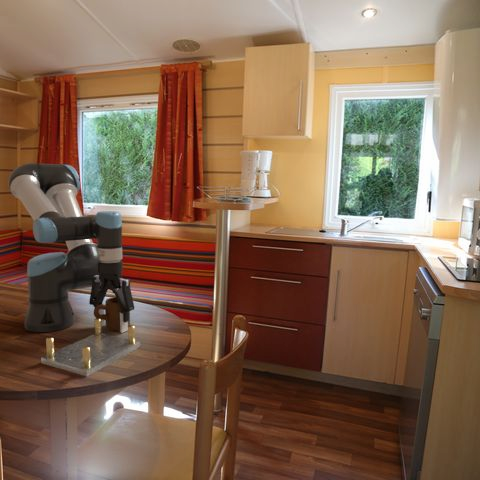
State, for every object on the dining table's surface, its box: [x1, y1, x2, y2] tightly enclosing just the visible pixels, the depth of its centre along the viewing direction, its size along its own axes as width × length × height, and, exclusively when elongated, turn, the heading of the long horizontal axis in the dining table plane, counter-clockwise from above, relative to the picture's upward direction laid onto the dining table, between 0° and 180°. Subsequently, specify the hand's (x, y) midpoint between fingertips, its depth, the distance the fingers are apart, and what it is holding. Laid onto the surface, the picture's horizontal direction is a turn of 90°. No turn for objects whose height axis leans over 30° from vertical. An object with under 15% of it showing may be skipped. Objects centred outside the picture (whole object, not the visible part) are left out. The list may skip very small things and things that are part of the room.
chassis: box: [40, 317, 141, 377], centre depth 109 cm, size 16×20×6 cm
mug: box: [93, 296, 131, 332], centre depth 128 cm, size 12×8×9 cm, turn 137°
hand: (112, 328), depth 128 cm, fingers open, 9 cm apart
